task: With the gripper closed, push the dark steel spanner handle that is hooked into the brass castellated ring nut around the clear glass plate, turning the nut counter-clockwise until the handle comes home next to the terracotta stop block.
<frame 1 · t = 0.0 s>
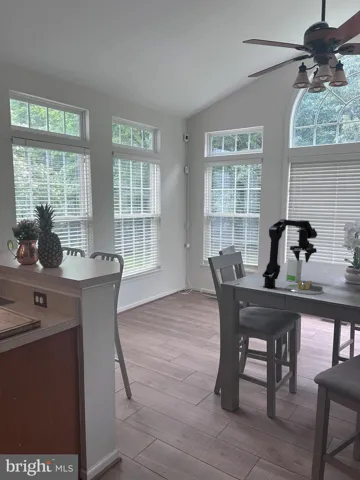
hand: (302, 261, 241), 15 cm above the table, fingers open, 7 cm apart
clear glass plate: (303, 289, 225), on the table
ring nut: (309, 286, 222), point 3 cm above the table, hinge at 0.0°
skincare box: (293, 281, 250), on the table, touching gripper
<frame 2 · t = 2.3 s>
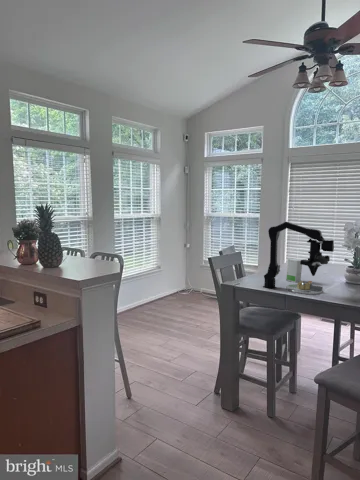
hand: (313, 275, 215), 11 cm above the table, fingers closed
skincare box: (293, 281, 250), on the table
everything else where it was.
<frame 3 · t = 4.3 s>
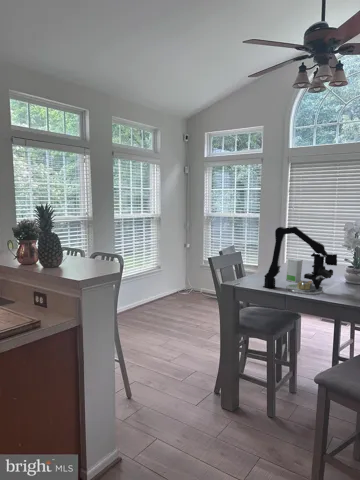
hand: (317, 289, 218), 2 cm above the table, fingers closed
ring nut: (309, 286, 222), point 3 cm above the table, hinge at 0.0°, touching gripper
everything else where it was.
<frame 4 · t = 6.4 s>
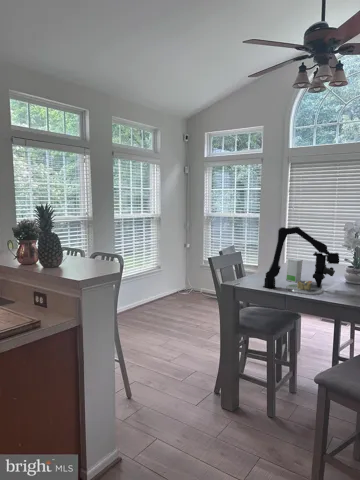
hand: (319, 287, 222), 2 cm above the table, fingers closed
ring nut: (309, 285, 224), point 3 cm above the table, hinge at 36.0°, touching gripper
everything else where it was.
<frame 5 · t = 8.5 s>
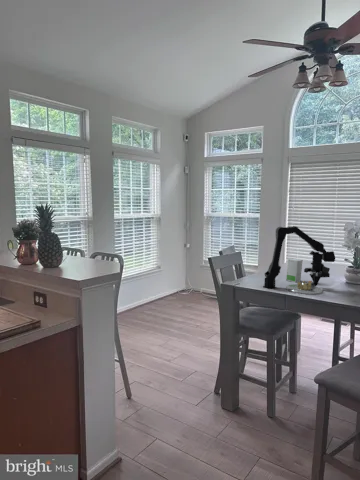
hand: (315, 285, 227), 2 cm above the table, fingers closed
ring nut: (307, 284, 226), point 3 cm above the table, hinge at 68.8°, touching gripper
everything else where it was.
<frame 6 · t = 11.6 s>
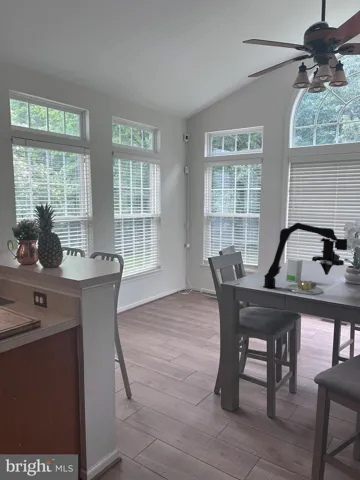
hand: (326, 274, 214), 12 cm above the table, fingers closed
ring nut: (307, 284, 226), point 3 cm above the table, hinge at 69.0°
everything else where it was.
at the end: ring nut at +69° (first picture: +0°) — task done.
